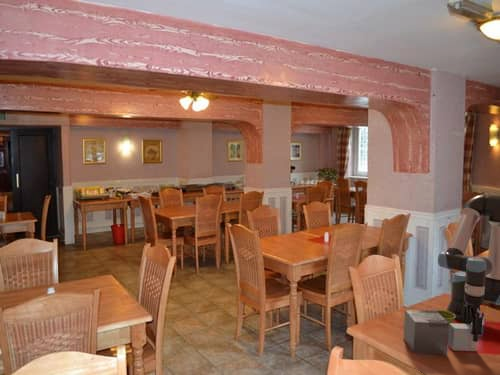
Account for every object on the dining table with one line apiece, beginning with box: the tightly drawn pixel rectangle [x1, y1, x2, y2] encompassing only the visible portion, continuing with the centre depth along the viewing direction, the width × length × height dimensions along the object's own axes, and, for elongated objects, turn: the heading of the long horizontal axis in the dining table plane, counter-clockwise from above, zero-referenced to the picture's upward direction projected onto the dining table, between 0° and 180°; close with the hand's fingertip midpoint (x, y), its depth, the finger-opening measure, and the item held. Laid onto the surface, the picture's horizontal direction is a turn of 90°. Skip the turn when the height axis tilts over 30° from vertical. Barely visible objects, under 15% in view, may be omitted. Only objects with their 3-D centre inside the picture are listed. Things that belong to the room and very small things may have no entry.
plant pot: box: [436, 309, 456, 334], centre depth 194 cm, size 9×9×9 cm
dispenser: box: [403, 309, 449, 355], centre depth 179 cm, size 14×13×14 cm
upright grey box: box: [447, 322, 478, 352], centre depth 178 cm, size 10×5×10 cm, turn 87°
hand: (470, 344), depth 178 cm, fingers closed on upright grey box, 5 cm apart
